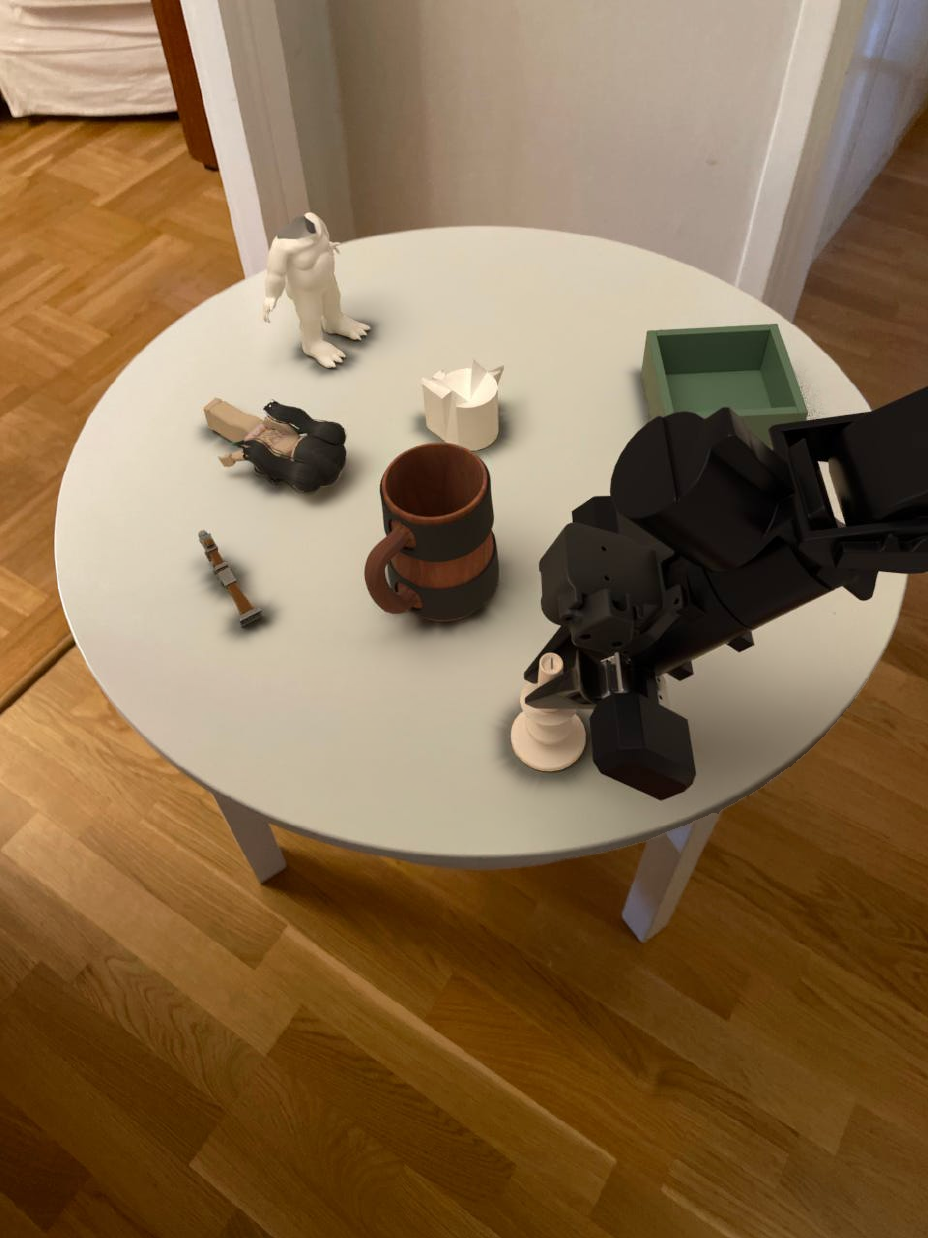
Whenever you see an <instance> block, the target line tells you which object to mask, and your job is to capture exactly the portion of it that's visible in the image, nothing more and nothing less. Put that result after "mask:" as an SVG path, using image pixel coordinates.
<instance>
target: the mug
mask: <svg viewBox="0 0 928 1238" xmlns="http://www.w3.org/2000/svg"><path fill="white" fill-rule="evenodd" d="M491 478H492V477H491V474H490V470H489V467H488V466H487V464H486V463H485V462H484V461H483V460H482V459H481V458H480V457H479V456H478V455H477V454H475V453H474V451H470V450H468V449H466V448H464V447H462V446H459V445H455V444H450V443H446V442H429V443H428V442H427V443H423V444H420V445H416V446H413V447H411V448H409V449H406V450H404V451H403V452H402V453H400V454H399V455H397V456H396V457H394V459H393V460H391V462H390V463H389V465H388V466H387V467H386V469H385V471H384V472H383V474H382V477H381V479H380V483H379V496H380V503H381V511H382V521H383V522H382V523H383V531H384V533H385V536H384V537H383V538H382V539H381V540H379V542H378V543H377V544H376V545H374V547H372V549H371V550H370V552H369V554H368V556H367V558H366V560H365V564H364V569H363V570H364V572H363V575H364V581H365V586H366V589H367V591H368V594H369V596H370V597H371V599H372V600H373V602H374V603H375V604H376V605H377V606H378V607H379V608H380V609H381V610H382V611H384V612H385V613H388V614H392V615H400V614H403V613H405V612H407V611H408V612H409V613H412V614H414V615H416V616H417V617H420V618H422V619H424V620H428V621H429V620H430V621H434V622H452V621H456V620H460V619H463V618H466V617H468V616H470V615H472V614H474V613H475V612H476V611H479V610H480V609H482V607H484V606H485V605H486V604H487V603H488V602H489V601H490V600H491V598H492V597H493V595H494V594H495V592H496V589H497V587H498V583H499V580H500V579H499V578H500V577H499V576H500V566H499V565H500V564H499V563H500V562H499V553H498V547H497V546H498V545H497V540H496V536H495V533H494V531H493V528H494V527H493V526H494V524H495V512H494V505H493V495H492V494H493V493H492V479H491ZM386 568H387V574H388V580H387V575H386ZM388 581H389V582H388Z"/></svg>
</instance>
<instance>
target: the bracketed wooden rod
mask: <svg viewBox="0 0 928 1238" xmlns="http://www.w3.org/2000/svg"><path fill="white" fill-rule="evenodd" d="M197 536H198V541H199V543H200V544H201V546H202V548H203V550H204V555H205V557H206V559H207V561H208V562H209V563H213V564H212V567H213V568H214V569H212V570H213V571H212V572H213V575H214V576H217V578H218V580H219V583H220V586H223V587H224V588H225V590H228V592H229V594H230V595H231V598H232V600H233V602H234V603H235V606H236V608H237V611H238V612H239V616H238V623H239V624H240V628H242V627H244V626H247V625H248V624H250V623H251V622H253V621H256V620H257V619H260V618H261V617H262V616H263V613H262V609H260V607H259V606H256V607H255V606H253V604H252V603H251V602H250V600H249V599H248V597H246V595H245V594H244V593H243V591H242V590H241V589H240V587H239V585H238V582H237V579H236V578H235V576H234V575H233V573H232V570H231V569H230V567H229V564H228V562H227V561H224V559H223V557H222V555H221V554H220V552H219V546H218V545H217V544H216V542H215V540H214V538H213V536H212V534H211V533H210V532H209V533H208V532H207V531H206V530H205V529H201V530H200V531H199V532H198V534H197Z"/></svg>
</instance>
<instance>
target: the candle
mask: <svg viewBox="0 0 928 1238" xmlns="http://www.w3.org/2000/svg"><path fill="white" fill-rule="evenodd" d="M561 674H563V661H562V659H561V657H560V656H558V655H557V654H554V653H547V654H545V655H543V656H542V657H541V659H540V666H539V674H538V683H537V684H532V683H530V682H528V681H527V683H525V685H524V686H523V688H522V690H521V692H520V699H519V702H520V707H521V710H522V711H521V712H520V713H519V714H518V715H517V717H516V718H515V719H514V721H513V724H512V726H511V732H510V742H511V746H512V749H513V751H514V754H515V755H516V757H518V759H519V760H520V761H521V762H522V763H524V764H525V765H527V767H529V768H532V769H535V770H538V771H543V772H555V771H561V770H563V769H566V768H568V767H570V766H571V765H573V764H574V763H575V762H577V761H578V759H579V758H580V756H581V755H582V754H583V751H584V748H585V746H586V735H587V734H586V730H585V726H584V723H583V722H582V720H581V718H580V716H578V714H576V713H577V712H578V709H536V708H533V707H531V706H528V705H526V704H525V697H526V696H528V695H529V694H530V693H531V692H533V691H534V690H535V689H537V688H538V687H540V686H542V685H544V684H545V683H547V682H549V681H551V680H552V679H554V678H556V677H558V676H560V675H561Z"/></svg>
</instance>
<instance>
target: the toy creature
mask: <svg viewBox="0 0 928 1238" xmlns="http://www.w3.org/2000/svg"><path fill="white" fill-rule="evenodd" d="M330 239H331V238H330V233H329V231H328V228H327V225H326V223H324V221H323V220H322V219H321V218H320V217H319V216H318V215H317V214H316V213H314V212H311V211H310V212H306V213H304V214H302V215H298V216H297V217H295V218H293V219H292V220H290V221H289V222H288V223H286V224H285V225H284V226H283V227H282V228H281V229H280V231H279V232H278V233H277V235H275V237H274V238H273V240H272V242H271V245H270V249H269V250H268V254H267V261H266V263H267V265H266V278H265V282H264V291H265V298H264V300H263V301H262V302H263V303H262V308H263V309H262V320H263V321H264V322H265V323H268V324H271V320H270V317H269V314H270V312H273V311H274V310H275V308H276V306H277V302H278V300H279V299H280V298H281V296H282V295H283V292H284V291H285V293H286V295H287V297H288V298H289V299H290V300H292V303H293V306H294V309H295V312H296V315H297V317H298V320H299V323H298V327H299V331H300V336H301V345H302V346H301V347H302V348H301V349H302V351H303V352H304V354H305V355H307V356H309V357H312V358H314V359H315V360H317V362H318V363H319V364H320V365H321V366H323V367H325V368H327V369H330V368H336V367H337V365H336V363H343V359H342V358H346V355H345V353H344V352H343V350H341V349H338V348H337V347H336V346H334V344H332V343H330V342H328V341H326V340H324V338H323V331H324V332H325V333H327V334H331V335H332V334H338V335H341V336H343V337H347V338H349V339H351V340H353V341H355V340H359V341H362V338H361V337H362V336H368V333H367V332H366V331H367V330H371V327H370V326H369V324H365V323H364V322H360V321H356V320H354V319H352V318H351V317H349V316H347V315H345V314H344V313H343V312H342V308H341V307H342V305H341V299H342V294H341V291H340V287H339V284H338V281H337V278H336V274H335V265H336V262H335V261H336V260H335V253H334V251H335V252H336V254H338V255H340V254H341V252H340V249H339V248H338V247H337V246H341V242H339V241H336V242H333V241H331V240H330Z"/></svg>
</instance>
